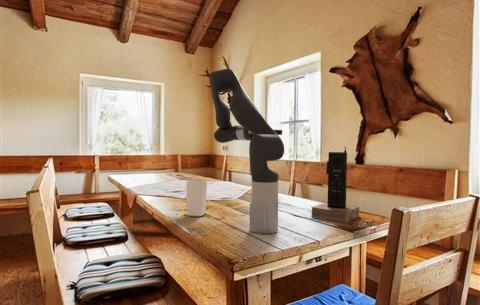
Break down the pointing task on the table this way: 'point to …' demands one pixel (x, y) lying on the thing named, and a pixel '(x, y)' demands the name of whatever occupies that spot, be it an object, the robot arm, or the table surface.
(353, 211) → the walnut stand
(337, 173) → the portable radio
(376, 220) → the table surface
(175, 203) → the table surface
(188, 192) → the cup
